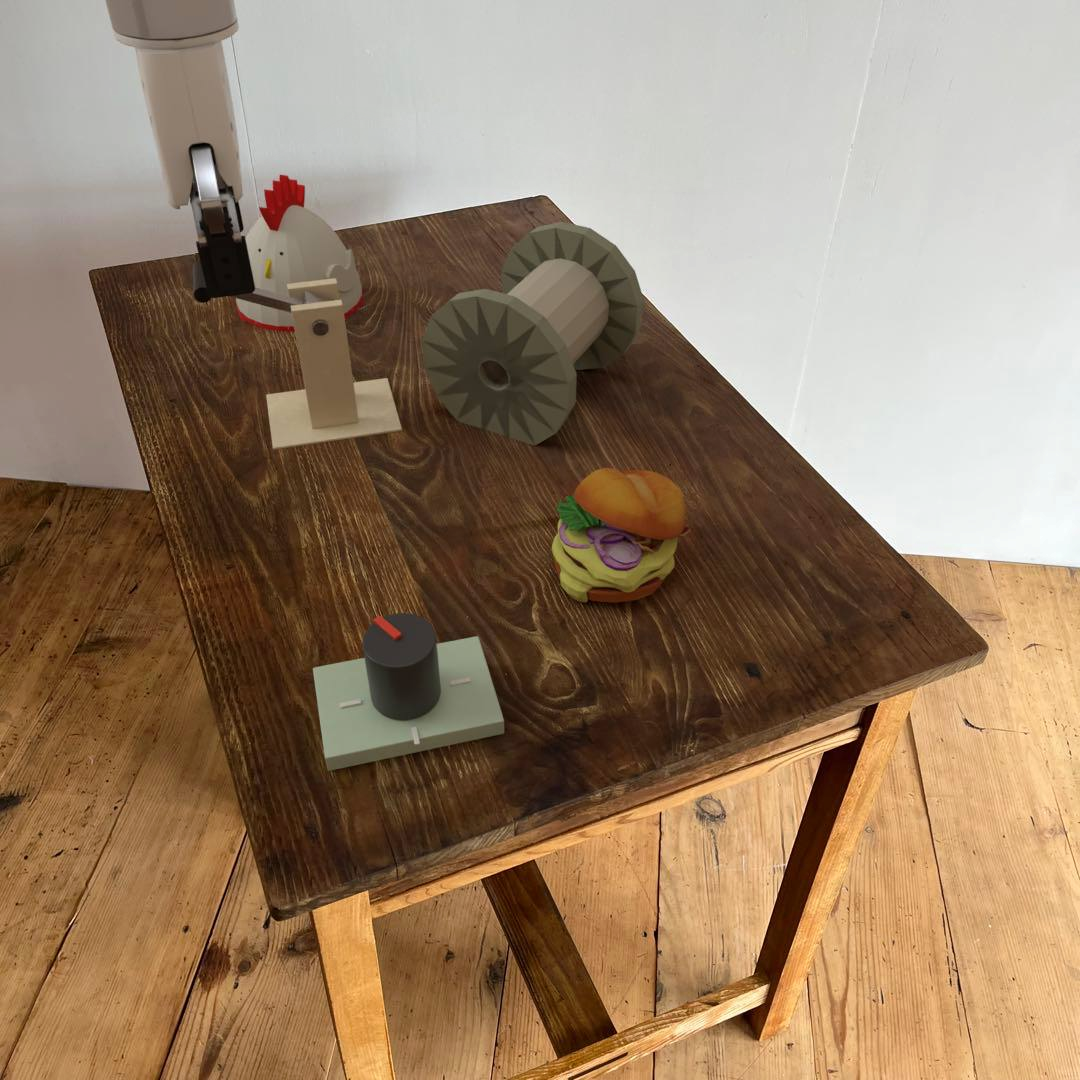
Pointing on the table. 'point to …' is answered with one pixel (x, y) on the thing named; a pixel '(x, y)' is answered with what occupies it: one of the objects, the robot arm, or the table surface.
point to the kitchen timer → (295, 255)
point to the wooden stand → (327, 380)
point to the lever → (255, 294)
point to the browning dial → (402, 665)
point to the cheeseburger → (618, 535)
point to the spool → (534, 333)
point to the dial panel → (372, 736)
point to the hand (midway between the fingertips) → (227, 262)
